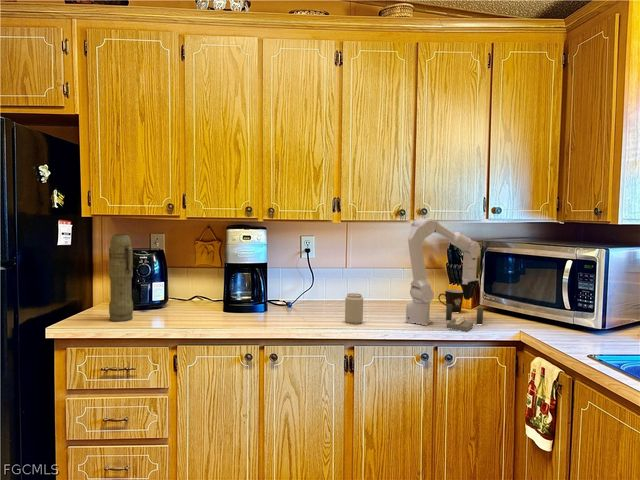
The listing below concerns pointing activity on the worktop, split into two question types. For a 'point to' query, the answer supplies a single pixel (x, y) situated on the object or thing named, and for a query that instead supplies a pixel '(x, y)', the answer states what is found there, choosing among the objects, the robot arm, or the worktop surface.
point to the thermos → (120, 278)
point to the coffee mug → (453, 299)
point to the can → (354, 308)
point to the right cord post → (479, 315)
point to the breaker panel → (460, 325)
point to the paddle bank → (460, 320)
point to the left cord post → (449, 311)
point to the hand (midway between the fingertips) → (468, 298)
